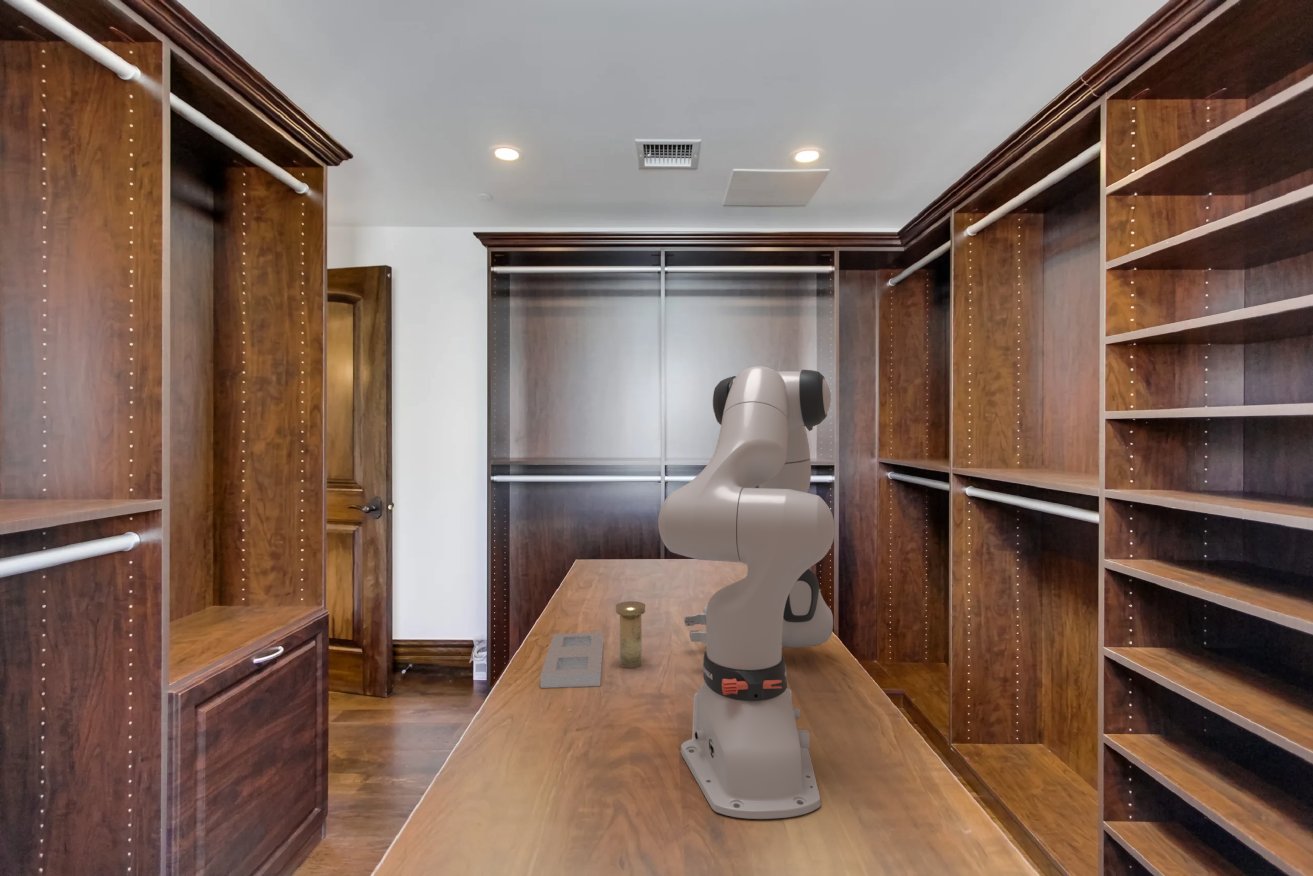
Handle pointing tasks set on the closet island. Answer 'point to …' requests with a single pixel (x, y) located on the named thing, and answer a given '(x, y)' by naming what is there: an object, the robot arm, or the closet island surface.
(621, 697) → the closet island surface
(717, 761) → the robot arm
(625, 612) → the brass capped peg
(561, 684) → the plate
